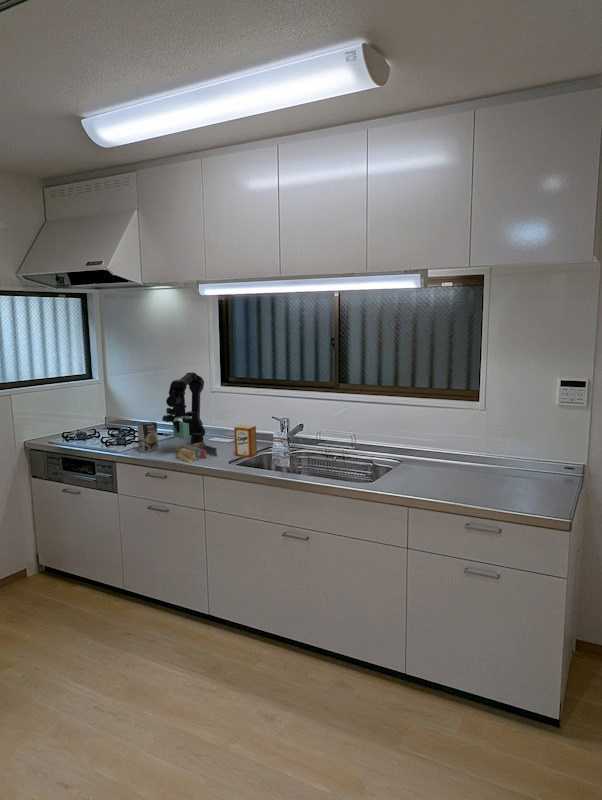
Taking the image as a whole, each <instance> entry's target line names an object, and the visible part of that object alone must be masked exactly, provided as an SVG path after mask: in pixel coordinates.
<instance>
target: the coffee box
mask: <svg viewBox="0 0 602 800" xmlns="http://www.w3.org/2000/svg"><path fill="white" fill-rule="evenodd" d="M158 436H159V435H158V423H157V421H156V422H155V421H147V422H141V423H137V440H138V441H137V442H138V452H139V453H143V454H148V453H152V452H155V451H159V439H158ZM151 451H152V452H151Z"/></svg>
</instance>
